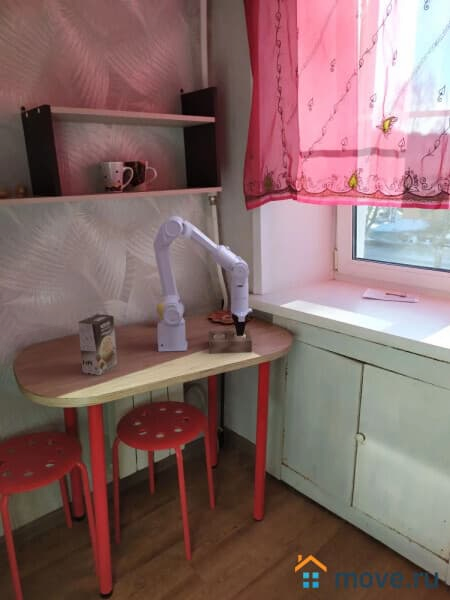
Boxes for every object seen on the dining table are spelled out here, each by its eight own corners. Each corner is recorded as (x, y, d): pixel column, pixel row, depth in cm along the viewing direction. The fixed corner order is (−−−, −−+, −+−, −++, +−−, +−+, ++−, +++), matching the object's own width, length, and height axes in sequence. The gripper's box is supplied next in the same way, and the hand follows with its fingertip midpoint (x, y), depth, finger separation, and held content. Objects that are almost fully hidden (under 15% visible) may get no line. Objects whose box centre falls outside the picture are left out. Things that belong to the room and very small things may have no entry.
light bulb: (154, 328, 178) (152, 303, 175) (163, 323, 183) (162, 298, 181) (167, 330, 175) (166, 305, 172) (177, 325, 181) (176, 300, 178)
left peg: (213, 347, 156) (213, 338, 155) (213, 343, 160) (213, 333, 159) (225, 347, 156) (225, 337, 155) (225, 343, 160) (224, 333, 159)
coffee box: (100, 376, 137) (95, 324, 132) (82, 373, 139) (77, 322, 135) (117, 364, 145) (113, 315, 141) (100, 361, 147) (96, 313, 143)
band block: (209, 353, 153) (209, 342, 152) (209, 341, 163) (208, 330, 162) (251, 352, 153) (251, 340, 152) (248, 340, 164) (248, 329, 163)
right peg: (234, 347, 156) (234, 337, 155) (233, 342, 160) (233, 333, 159) (246, 346, 156) (246, 337, 155) (245, 342, 160) (245, 333, 159)
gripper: (254, 302, 147) (254, 342, 150) (249, 290, 161) (249, 328, 164) (231, 302, 146) (232, 343, 150) (229, 291, 160) (229, 328, 164)
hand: (240, 335), depth 157 cm, fingers closed, pressing on right peg
